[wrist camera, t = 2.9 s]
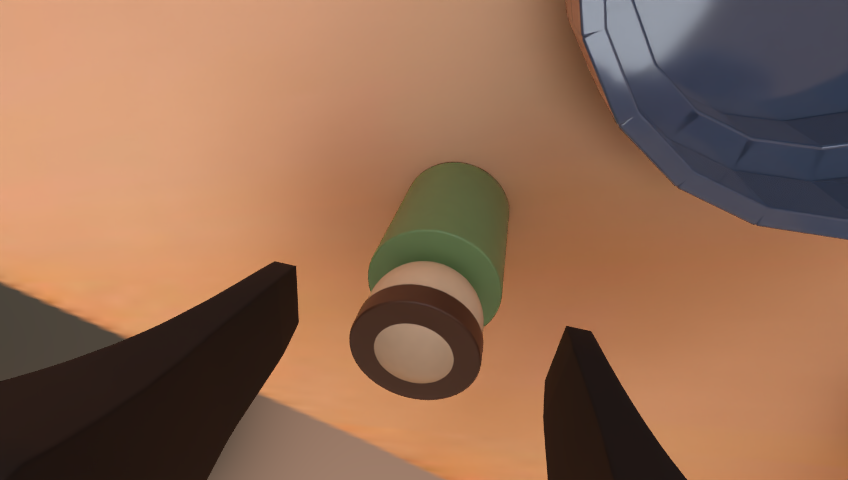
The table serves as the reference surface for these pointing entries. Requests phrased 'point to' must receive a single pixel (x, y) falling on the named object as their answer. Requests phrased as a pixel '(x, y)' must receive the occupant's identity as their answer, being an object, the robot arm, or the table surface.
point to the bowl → (731, 100)
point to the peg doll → (434, 285)
